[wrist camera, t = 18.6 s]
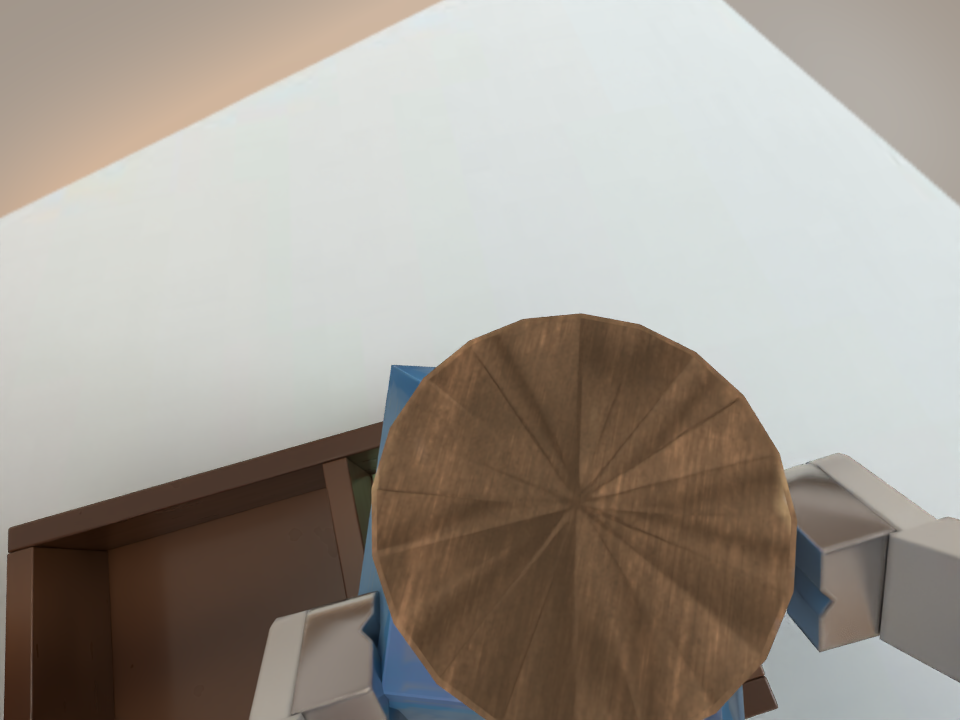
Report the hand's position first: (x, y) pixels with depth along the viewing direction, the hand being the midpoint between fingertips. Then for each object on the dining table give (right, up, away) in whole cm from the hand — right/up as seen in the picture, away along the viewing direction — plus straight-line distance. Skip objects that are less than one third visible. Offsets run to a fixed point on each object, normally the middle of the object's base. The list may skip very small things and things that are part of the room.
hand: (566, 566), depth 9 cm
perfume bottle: (0, -2, +7) cm, 7 cm away
